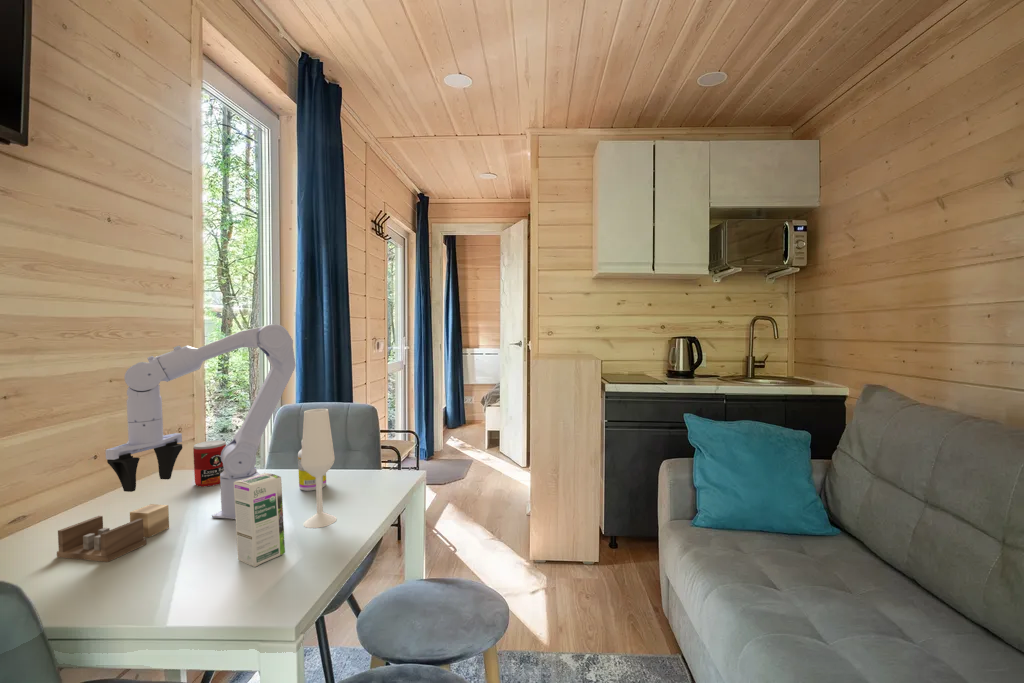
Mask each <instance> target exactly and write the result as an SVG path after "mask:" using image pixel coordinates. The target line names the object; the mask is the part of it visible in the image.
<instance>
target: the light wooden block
mask: <svg viewBox="0 0 1024 683" xmlns="http://www.w3.org/2000/svg"><path fill="white" fill-rule="evenodd" d="M169 515H170V512H169V504H154V503H150V504H148V505H144V506H143V507H140V508H137V509H135V510H132V511H130V512H129V522H132V521H134V520H137V519H143V531H144V538H150V536H151V537H152V535H153V536H155V535H157V534H160V533H162V532H163V530H164V531H166V530H168V529H170V518H169V517H170V516H169ZM167 528H168V529H167ZM165 529H166V530H165ZM161 531H162V532H161ZM159 532H160V533H159Z"/></svg>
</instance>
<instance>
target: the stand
mask: <svg viewBox="0 0 1024 683" xmlns="http://www.w3.org/2000/svg"><path fill="white" fill-rule="evenodd" d="M103 520H104V518H103V515H98V516H94V517H92V518H89V519H87V520H84V521H81V522H78V523H74V524H73V525H70V526H67V527H64V528H61V529H59V530H57V539H58V540H57V543H58V551H56V557H57V558H64V559H74V560H83V561H95V562H106V563H109V562H111V561H114V560H115V559H117V558H120V557H122V556H124V555H126V554H128V553H130V552H133V551H134V550H137V549H139V548H141V547H143V546H146V545H147V539H146V538H145V537H144V531H143V519H137V520H134V521H132V522H130V521H129V522H127V523H124V524H122V525H120V526H117V527H114V528H112V529H110V527H104V521H103Z"/></svg>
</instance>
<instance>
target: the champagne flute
mask: <svg viewBox="0 0 1024 683" xmlns="http://www.w3.org/2000/svg"><path fill="white" fill-rule="evenodd" d="M330 421H331V419H330V414H329V409H328V408H315V409H314V408H313V409H307V410H304V412H303V424H302V425H303V426H302V439H301V440H302V445H301V449H302V454H301V466H302V467H303V469H304V470H305V471H306V472H308V473H309V474H310V475H312V476H314V477H316V490H315V493H316V499H315V500H316V513H315V514H314V515H312V516H311V517H309V518H308V519H306V520H305V521H304V522H303V524H302V526H303V527H305V528H308V529H317V528H324V527H327V526H330V525H332V524H334V523H335V522H337V517H336V516H335V515H332V514H329V513H326V512H324V511H323V510H324V507H323V506H324V502H323V488H322V476H323V475H324V474H325V473H326V474H327V473H328V472H329V470H330V469H331V468H332V467H333V465H334V464H335V463H334V462H335V461H336V460H335V451H334V444H333V436H332V435H333V434H332V429H331V422H330Z"/></svg>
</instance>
